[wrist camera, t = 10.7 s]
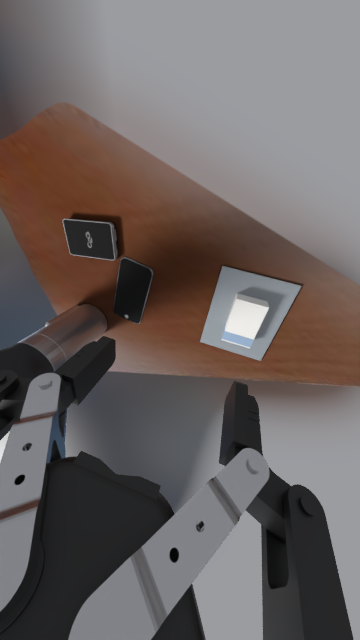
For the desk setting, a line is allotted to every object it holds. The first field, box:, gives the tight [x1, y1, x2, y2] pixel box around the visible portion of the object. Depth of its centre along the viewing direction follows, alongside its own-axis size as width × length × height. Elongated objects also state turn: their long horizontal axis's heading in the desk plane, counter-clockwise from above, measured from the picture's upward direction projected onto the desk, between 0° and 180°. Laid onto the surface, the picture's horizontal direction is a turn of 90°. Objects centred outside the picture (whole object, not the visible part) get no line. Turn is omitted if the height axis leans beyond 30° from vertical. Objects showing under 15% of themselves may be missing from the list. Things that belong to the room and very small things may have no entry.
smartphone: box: [113, 257, 153, 324], centre depth 44 cm, size 8×1×15 cm
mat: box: [200, 266, 301, 361], centre depth 39 cm, size 14×18×1 cm
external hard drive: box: [63, 219, 119, 260], centre depth 40 cm, size 7×11×2 cm, turn 87°
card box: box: [221, 293, 269, 348], centre depth 38 cm, size 10×6×3 cm, turn 170°
